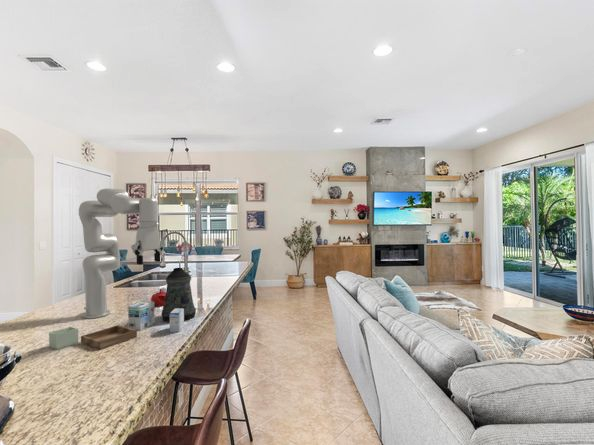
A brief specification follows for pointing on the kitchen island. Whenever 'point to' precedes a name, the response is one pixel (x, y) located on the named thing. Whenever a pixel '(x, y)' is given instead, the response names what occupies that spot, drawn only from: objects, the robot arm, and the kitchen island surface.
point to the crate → (108, 337)
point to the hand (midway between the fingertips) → (148, 262)
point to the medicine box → (176, 320)
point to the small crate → (63, 338)
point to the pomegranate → (158, 298)
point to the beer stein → (178, 295)
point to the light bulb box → (141, 315)
